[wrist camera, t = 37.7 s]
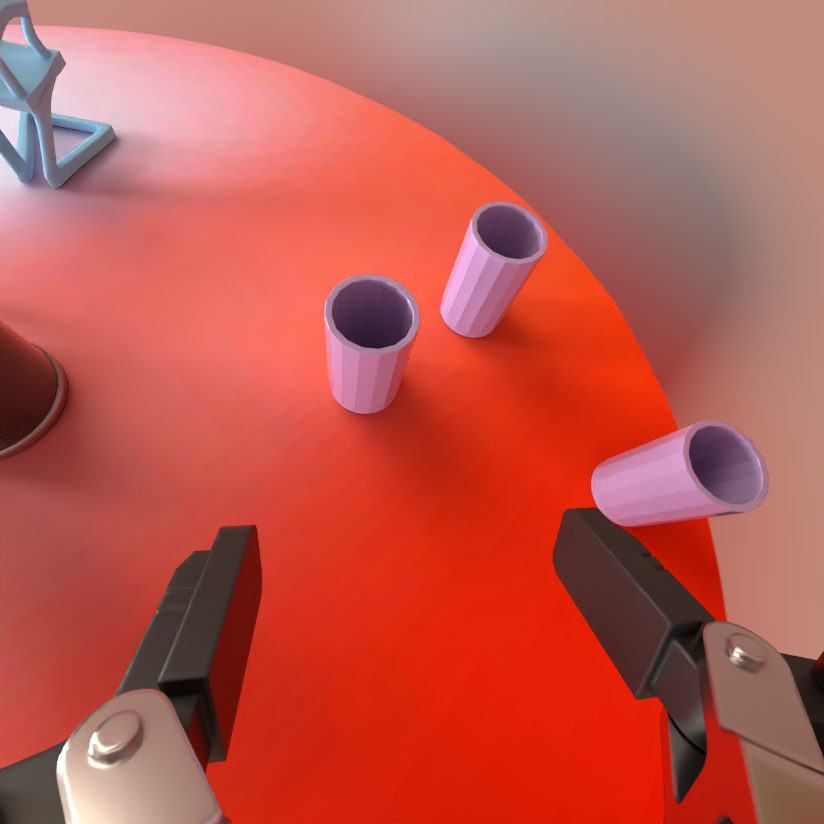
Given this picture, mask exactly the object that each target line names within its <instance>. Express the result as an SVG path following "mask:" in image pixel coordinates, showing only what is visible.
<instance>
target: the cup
mask: <svg viewBox="0 0 824 824" xmlns="http://www.w3.org/2000/svg"><path fill="white" fill-rule="evenodd" d="M547 246H548V237H547V231H546V229H545V227H544V226H543V224H542V222H541V221H540V220H539V218H537V217H536V216H535V215H534V214H533V213H532V212H531V211H529V210H528V209H526V208H524V207H522V206H519V205H517V204H514V203H510V202H504V201H496V202H490V203H486V204H485V205H483V206H481V207H480V208H478V209H477V210H476V211H475V213H474V215H473V217H472V219H471V222H470V224H469V227H468V230H467V232H466V235H465V238H464V240H463V243H462V246H461V248H460V251H459V254H458V256H457V259H456V262H455V264H454V267H453V270H452V272H451V275H450V278H449V281H448V283H447V286H446V289H445V291H444V294H443V297H442V300H441V304H440V310H441V315H442V318H443V320H444V321H445V323H446V324H447V325H448V326H449V328H451V329H452V330H453V331H455V332H456V333H458V334H460V335H462V336H465V337H470V338H479V337H483V336H486V335H488V334H490V333H491V332H493V331H494V330H495V328H496V327H497V326H498V324H499V323H500V321H501V320H502V318H503V317H504V315H505V314H506V312H507V311H508V309H509V308H510V306H511V305H512V303H513V301H514V300H515V298H516V297H517V295H518V294H519V292H520V291H521V289H522V288H523V286H524V284H525V283H526V281H527V280H528V278H529V277H530V275H531V274H532V272H533V271H534V269H535V267H536V266H537V264H538V263H539V261H540V260H541V258H542V257H543V255H544V253H545V251H546V248H547Z"/></svg>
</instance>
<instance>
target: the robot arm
mask: <svg viewBox="0 0 824 824" xmlns="http://www.w3.org/2000/svg"><path fill="white" fill-rule="evenodd" d="M66 397H67V380H66V376H65V373H64V371H63V369H62V367H61V366H60V364H59V363H58V362H57V361H56V360H55V359H54V358H53V357H52V356H51V355H49V354H48V353H47V352H45V351H44V350H42V349H41V348H39V347H38V346H36V345H34V344H32V343H30V342H29V341H27V340H26V339H25V338H23V337H22V336H20V335H19V334H18V333H16V332H15V331H14V330H12V329H11V328H10V327H8V326H7V325H6V324H4V323H3V322H2V321H0V460H1V459H4V458H7V457H9V456H12V455H14V454H16V453H18V452H20V451H22V450H24V449H25V448H27V447H29V446H30V445H32V444H33V443H34V442H36V441H37V440H38V439H40V438H41V437H42V436H43V435H44V434H45V433H46V432H47V431H48V430H49V429H50V428H51V427H52V426H53V424H54V423H55V422H56V420H57V419H58V417H59V415H60V414H61V412H62V410H63V407H64V405H65V402H66ZM553 564H554V568H555V571H556V574H557V576H558V577H559V579H560V581H561V582H562V584H563V585H564V587H565V588H566V590H567V591H568V593H569V595H570V596H571V598H572V599H573V601H574V602H575V604H576V606H577V607H578V609H579V610H580V612H581V613H582V615H583V617H584V618H585V620H586V621H587V623H588V624H589V626H590V628H591V629H592V631H593V632H594V634H595V635H596V637H597V639H598V640H599V642H600V643H601V645H602V646H603V648H604V650H605V651H606V653H607V654H608V656H609V657H610V659H611V661H612V662H613V664H614V665H615V667H616V668H617V670H618V672H619V673H620V675H621V676H622V678H623V679H624V681H625V683H626V684H627V686H628V687H629V689H630V690H631V692H632V694H633V695H634V697H635V698H636V700H640V699H646V698H653V697H658V698H659V700H660V701H661V703H662V704H663V705H664V706H663V708H662V710H661V714H660V728H661V747H662V767H663V786H664V806H665V810H664V822H663V824H824V652H823V653H822V654H821V656H820V657H819V658H818V660H813V659H808V658H803V657H798V656H792V655H787V654H782V653H779V652H778V651H777V650H776V649H775V648H774V647H773V646H772V645H770V644H769V643H768V642H767V641H765V640H764V639H763V638H761V637H760V636H758V635H757V634H755V633H753V632H752V631H750V630H748V629H746V628H744V627H741V626H739V625H736V624H733V623H730V622H725V621H717V620H716V619H715V618H714V617H713V616H712V615H711V614H710V613H709V612H708V611H707V610H706V609H705V608H704V607H703V606H702V605H701V604H700V603H699V602H698V601H697V600H696V599H695V598H694V597H693V596H692V595H691V594H690V593H689V592H688V591H687V590H686V589H685V587H684V586H683V585H682V584H681V583H680V582H679V581H678V580H677V579H676V578H675V577H674V576H673V575H672V574H671V573H670V572H669V571H668V570H665V569H664V566H663V565H662V564H661V563H660V562H659V561H658V560H657V559H656V558H655V557H652V556H651V553H650V552H649V551H648V550H647V548H646V547H645V546H644V545H643V544H642V543H641V542H640V541H639V540H638V539H637V538H635V537H634V536H632V535H631V534H629V533H628V532H626V531H625V530H623V529H622V528H620V527H619V526H617V525H613V524H612V522H611V521H610V520H609V519H608V518H607V517H606V516H605V515H604V514H603V513H602V512H601V511H600V510H599V509H597V508H595V507H591V508H573V509H567V510H566V511H565V512H564V514H563V517H562V521H561V525H560V528H559V532H558V536H557V540H556V543H555V547H554V551H553ZM261 593H262V568H261V559H260V550H259V541H258V533H257V528H256V525H243V526H224V527H221V528H220V529H219V531H218V534H217V536H216V539H215V541H214V544H213V546H212V549H211V550H207V551H194V552H193V553H192V554H191V555H190V556H189V557H188V558H187V559H186V560H185V561H184V562H183V563H182V564H181V565H180V566H179V567H178V568H177V569H176V571H175V573H174V575H173V577H172V579H171V581H170V583H169V585H168V587H167V589H166V594H165V595H163V597H162V599H161V601H160V603H159V606H158V608H157V613H155V614H154V616H153V618H152V620H151V622H150V624H149V626H148V628H147V630H146V632H145V634H144V636H143V638H142V640H141V643H140V645H139V647H138V649H137V651H136V653H135V655H134V657H133V659H132V661H131V663H130V665H129V667H128V669H127V671H126V673H125V675H124V678H123V680H122V682H121V684H120V686H119V688H118V689H117V691H116V693H115V695H114V696H113V698H112V699H111V700H109V701H107V702H105V703H104V704H103V705H101V706H100V707H98V708H97V709H96V710H94V711H93V712H92V713H91V714H90V715H88V716H87V717H86V718H85V719H84V720H83V721H82V722H81V723H80V725H79V726H78V727H77V728H76V729H75V731H74V732H73V733H72V735H71V736H70V738H68V739H66V740H65V741H63V742H61V743H60V744H58V745H56V746H53V747H51V748H49V749H47V750H45V751H42V752H40V753H38V754H35V755H33V756H31V757H28V758H26V759H23V760H21V761H19V762H16V763H14V764H12V765H9V766H7V767H4V768H2V769H0V824H232V822H231V820H230V819H229V818H228V817H226V816H225V815H224V813H223V811H222V810H221V808H220V806H219V804H218V801H217V799H216V797H215V795H214V793H213V791H212V789H211V786H210V784H209V782H208V780H207V778H206V776H205V773H206V769H207V765H208V763H212V762H219V761H226V759H227V754H228V749H229V745H230V740H231V735H232V731H233V726H234V721H235V717H236V712H237V707H238V703H239V698H240V693H241V689H242V684H243V679H244V675H245V670H246V665H247V661H248V656H249V651H250V647H251V642H252V637H253V633H254V628H255V623H256V619H257V614H258V610H259V605H260V600H261Z"/></svg>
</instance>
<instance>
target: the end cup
mask: <svg viewBox="0 0 824 824" xmlns="http://www.w3.org/2000/svg"><path fill="white" fill-rule="evenodd" d="M768 481H769V476H768V471H767V468H766V465H765V462H764V459H763V457H762V455H761V454H760V452H759V451H758V449H757V448H756V446H755V445H754V443H753V442H752V441H751V440H750V439H749V438H748V437H747V436H746V435H745V434H744V433H742V432H741V431H740V430H739V429H737V428H736V427H734V426H732V425H730V424H727V423H725V422H723V421H718V420H707V419H706V420H703V421H700V422H698V423H695V424H693V425H690V426H688V427H686V428H683V429H680V430H678V431H675V432H673V433H671V434H668V435H666V436H663V437H661V438H658V439H656V440H653V441H651V442H648V443H646V444H643V445H641V446H639V447H636V448H634V449H631V450H629V451H626V452H624V453H621V454H619V455H616V456H614V457H611V458H609V459H607V460H604V461H603V462H601V463H600V464H599V465H598V466H597V467H596V469H595V470H594V472H593V475H592V479H591V490H592V495H593V498H594V500H595V503H596V505H597V506H598V508H599V509H600V511H601V512H602V513H603V514H604V515H605V516H606V517H607V518H608V519H610V520H611V521H612V522H614V523H616V524H618V525H621V526H625V527H637V526H639V527H641V526H649V525H656V524H663V523H671V522H678V521H686V520H693V519H700V518H708V517H715V516H722V515H730V514H737V513H745V512H748V511H751V510H752V509H754V508H756V507H758V506H760V505H761V504H762V502H763V500H764V498H765V497H766V495H767V493H768Z"/></svg>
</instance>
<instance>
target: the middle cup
mask: <svg viewBox="0 0 824 824" xmlns="http://www.w3.org/2000/svg"><path fill="white" fill-rule="evenodd" d="M324 320H325V334H326V349H327V364H328V378H329V384H330V389H331V392H332V394H333V396H334V398H335V399H336V401H337V402H338V403H339V404H340V405H341V406H343V407H344V408H346V409H348V410H350V411H352V412H355V413H361V414H370V413H375V412H378V411H381V410H383V409H385V408H386V407H387V406H389V405H390V404H391V403H392V402H393V400H394V399H395V397H396V395H397V393H398V390H399V388H400V385H401V382H402V379H403V376H404V373H405V370H406V367H407V364H408V361H409V358H410V354H411V351H412V348H413V345H414V342H415V339H416V336H417V333H418V330H419V326H420V310H419V308H418V305H417V303H416V301H415V299H414V296H413V295H412V294H411V293H410V292H409V291H408V290H407V289H406V288H405V287H404V286H403V285H402V284H400V283H398V282H396V281H394V280H392V279H390V278H388V277H385V276H379V275H371V274H364V275H359V276H354V277H350V278H348V279H346V280H344V281H343V282H341V283H340V284H338V285H336V286H335V287H334V289H333V290H332V292H331V293H330V295H329V296H328V298H327V299H326V304H325V312H324Z"/></svg>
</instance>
